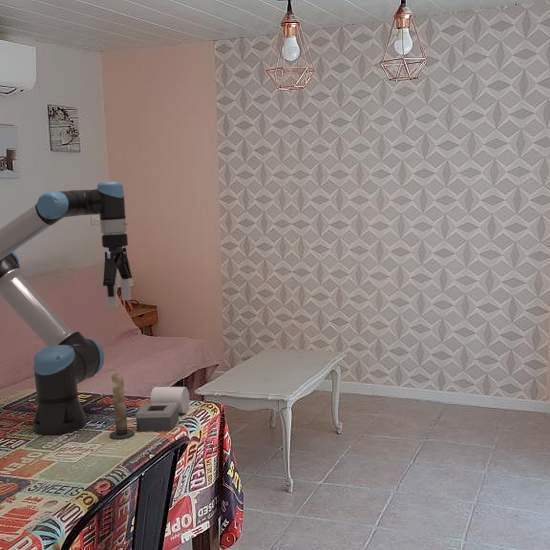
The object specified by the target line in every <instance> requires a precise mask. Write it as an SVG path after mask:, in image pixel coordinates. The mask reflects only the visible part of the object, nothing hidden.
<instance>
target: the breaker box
mask: <svg viewBox="0 0 550 550" xmlns="http://www.w3.org/2000/svg"><path fill="white" fill-rule="evenodd" d="M179 420H180V419H179V413H178V403H150V402H149V403H144V404H143V405H142V406H141V407H140V408H139V410H138V411H137V412H135V422H136V423H135V425H136V432H171V431H172V430H173V429H174V427H175V426H176V425H177V423H178V421H179Z"/></svg>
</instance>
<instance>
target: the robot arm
mask: <svg viewBox="0 0 550 550" xmlns="http://www.w3.org/2000/svg"><path fill="white" fill-rule="evenodd" d="M96 187H97V188H95V189H94V188H93V189H78V190H77V189H73V190H72V189H71V190H65V191H64V190H62V191H61V190H59V191H57V190H55V191H54V190H51V191H47V192H44V193H42V194H41V195H40V196H39V198H38V199H37V202H36V203H35V204H34V205H32V206H31V207H30V208H28V209H27V210H25V211H24V212H22V213H21V214H19V215H18V216H17V217H15V218H14V219H12V220H11V221H9V222H8V223H7V224H5V225H3V226H2V227H1V228H0V296H1V298H2V299H3V300H4V301H5V302H6V303H7V304H8V305H9V306H10V307H11V309H13V311H14V312H15V313H16V314H17V315H18V316H19V317H20V318H21V319H22V320H23V322H24V323H25V324H26V325H27V326H28V327H29V328H30V330H32V331H33V332H34V333H35V334H36V335H37V337H38V338H39V340H41V341H42V343H44V344H45V346H46V347H45V348H42V349H41V350H39V351H37V352H36V354H35V355H34V357H33V366H32V369H33V372H34V381H35V391H36V399H37V405H36V411H35V415H34V418H33V422H32V424H33V425H32V427H33V431H34V433H36V434H39V435H50V436H51V435H60V434H67V433H71V432H74V431H75V432H76V431H78V430H81V429H82V428H83V427H85V426H86V425H87V416H86V413H85V411H84V409H83V406H82V403H81V401H80V399H79V394H78V392H79V391H78V384H80V383H82V382H84V381H86V380H87V379H91V378H93V377H94V376H95V375H96V374H98V373H99V372H100V371H101V370H102V368H103V366H104V363H105V352H104V349H103V347H102V346H101V344H100V343H99V342H98V341H96V340H95V339H92V338H86V337H85V336H83V335H82V333H81V332H80V331H78V330H71V329H70V327H68V325H67V324H66V323H65V322H64V321H63V320H62V319H61V318H60V317H59V315H57V313H56V312H55V311H54V310H53V309H52V308H51V307H50V306H49V305H48V304H47V302H46V301H44V299H43V298H42V297H41V296H40V295H39V294H38V293H37V292H36V290H34V288H33V287H32V286H31V285H30V284H29V283H28V282H27V281H26V279H25V278H23V269H22V268H21V267H20V265H21V264H20V263H19V261H20V259H19V256H18V255H17V253H16V252H15V251H17V250H18V249H20V247H23V245H25V244H26V243H28V242H29V241H30V240H33V239H34V238H35V237H37V236H38V235H40V234H41V233H42V232H45V230H47V229H48V228H50V227H51V226H54V225H55V224H56V223H58V222H60V220H62V219H64V218H68V217H69V218H70V217H80V216H88V215H89V216H92V215H99V218H100V219H99V220H100V222H99V223H100V233H101V234H103V235H102V236H101V245H102V248H104V249H105V248H106V249H108V251H105V252H104V269H103V281H102V285H103V287H105V288H106V297H107V299H106V300H107V307H108V308H109V309H110V308H112V309H113V308H115V309H116V308H118V307H119V305H118V304H119V302H118V293H117V291H118V289H117V285H116V280H117V272H118V274H119V276H120V280H119V282H120V293H121V300H122V301H131V300H132V295H131V281H130V280H131V279H133V275H132V271H131V267H130V262H129V259H128V255H127V253H128V252H127V247H126V246H128V245H129V239H128V234H127V233H125V232H127V231H128V230H127V226H128V225H129V222H128V221H127V218H126V217H127V216H126V205H125V197H126V196H125V192H124V186H123V183H122V182H120V181H102V182H98V183H97V185H96Z"/></svg>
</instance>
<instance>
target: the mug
mask: <svg viewBox="0 0 550 550" xmlns="http://www.w3.org/2000/svg"><path fill="white" fill-rule="evenodd" d="M149 403H178V414H186V413H187V412H188V411H189V406H190V392H189V390H188V387H186V386H154V387H153V388H152V390H151V393H150V401H149Z"/></svg>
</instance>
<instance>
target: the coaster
mask: <svg viewBox="0 0 550 550" xmlns="http://www.w3.org/2000/svg"><path fill="white" fill-rule="evenodd" d="M134 436H135V431H134V430H133V429H127V434H126V435H117V432H116V430H114V431H112V432H110V433H109V439H111V440H115V439H116V440H119V439H120V440H127V439H130V438H132V437H134ZM126 438H127V439H126ZM120 440H119V441H120Z"/></svg>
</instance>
